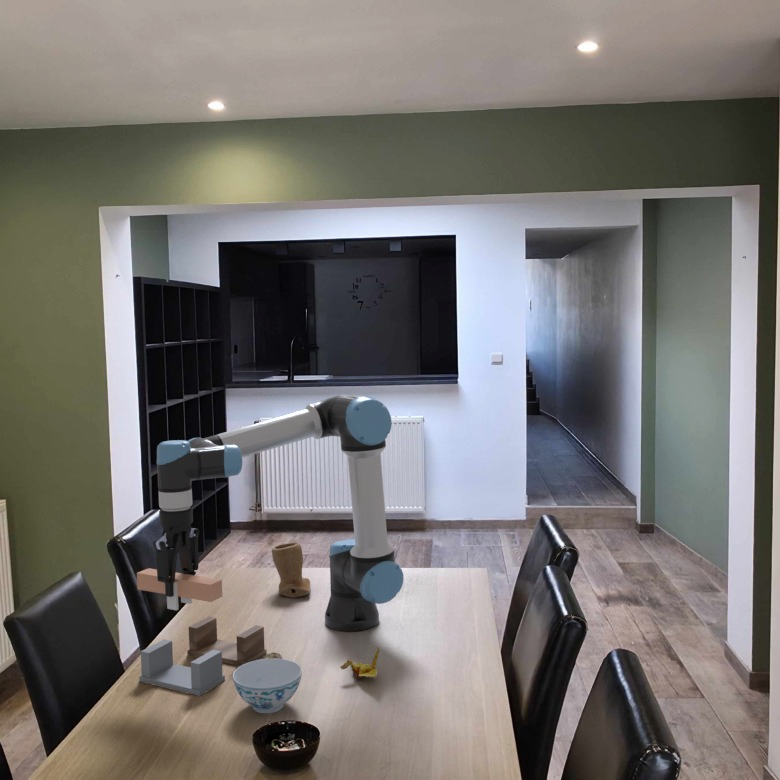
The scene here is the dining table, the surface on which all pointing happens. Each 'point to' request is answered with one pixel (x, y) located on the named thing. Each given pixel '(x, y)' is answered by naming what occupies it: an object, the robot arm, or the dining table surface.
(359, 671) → the origami crane
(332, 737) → the dining table surface
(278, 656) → the mineral rock
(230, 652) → the bronze cradle base
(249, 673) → the chinaware
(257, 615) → the dining table surface
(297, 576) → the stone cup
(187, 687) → the stand
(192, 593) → the salmon pink square bar
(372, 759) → the dining table surface
